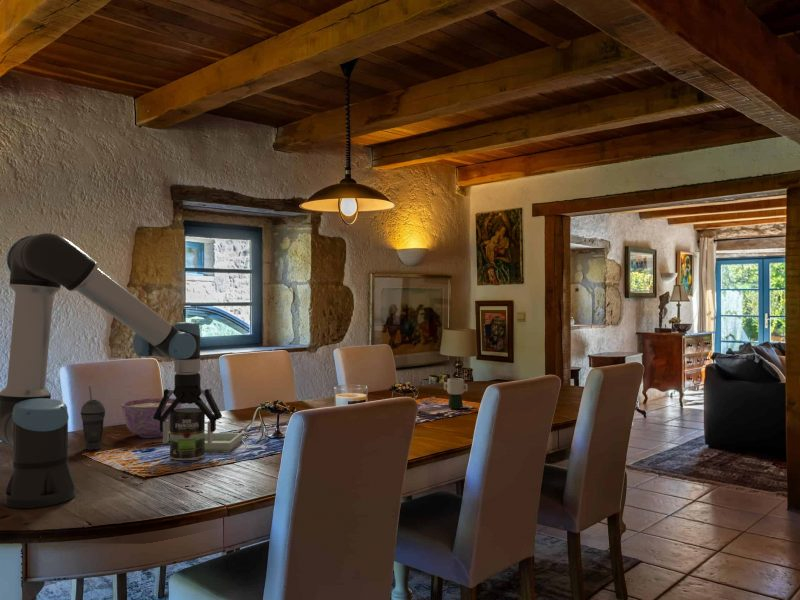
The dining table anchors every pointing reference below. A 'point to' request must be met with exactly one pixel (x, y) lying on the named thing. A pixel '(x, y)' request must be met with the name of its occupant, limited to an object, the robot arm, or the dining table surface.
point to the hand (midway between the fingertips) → (188, 442)
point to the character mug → (455, 391)
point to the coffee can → (187, 434)
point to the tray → (222, 441)
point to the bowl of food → (145, 416)
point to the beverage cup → (92, 422)
